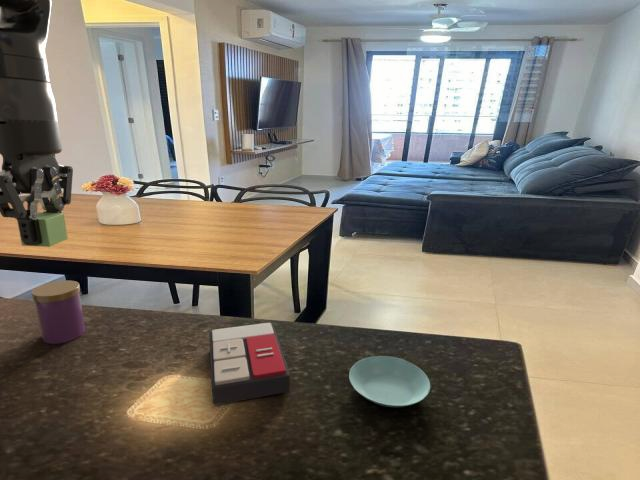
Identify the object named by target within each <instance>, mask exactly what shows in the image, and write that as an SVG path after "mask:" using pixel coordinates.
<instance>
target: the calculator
mask: <svg viewBox="0 0 640 480" xmlns="http://www.w3.org/2000/svg"><path fill="white" fill-rule="evenodd" d="M208 336H209V357H210V358H209V359H210V360H209V363H210V388H211V401H212V405H214V406H219V405H222V404H229V403H235V402H240V401H246V400H251V399H257V398H262V397H268V396H275V395H278V394H279V395H280V394H285V393H288V392H290V391H291V373H290V371H289V367H288V363H287V361H286V358H285V355H284V352H283V349H282V347H281V343H280V339H279V337H278V334H277V331H276V329H275V325H274V324H273V322H264V323H255V324H247V325H241V326H240V325H239V326H233V327H224V328H217V329H211V330H210V331H209V335H208Z"/></svg>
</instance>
